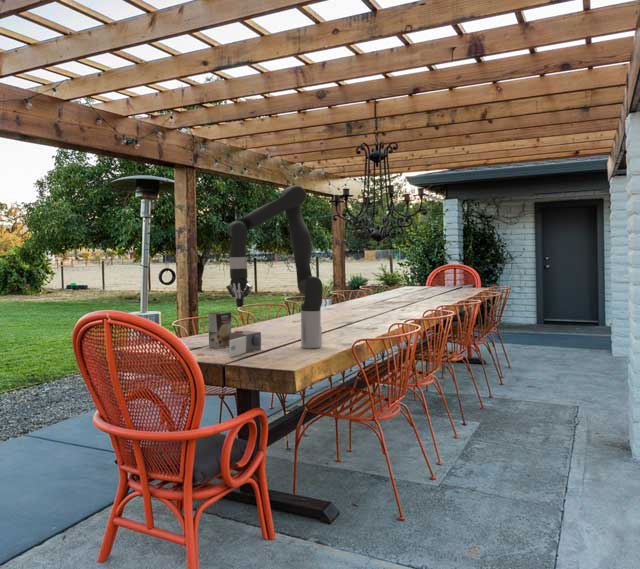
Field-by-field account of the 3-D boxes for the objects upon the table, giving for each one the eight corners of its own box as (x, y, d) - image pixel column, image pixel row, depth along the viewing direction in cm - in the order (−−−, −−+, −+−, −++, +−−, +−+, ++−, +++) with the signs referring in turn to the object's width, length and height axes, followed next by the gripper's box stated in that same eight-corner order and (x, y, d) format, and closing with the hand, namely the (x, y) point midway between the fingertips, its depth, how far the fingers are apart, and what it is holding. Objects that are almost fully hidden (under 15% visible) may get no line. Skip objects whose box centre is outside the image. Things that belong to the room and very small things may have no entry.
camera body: (244, 347, 263) (244, 328, 263) (263, 349, 257) (263, 330, 256) (230, 350, 255) (230, 331, 255) (249, 352, 249) (249, 333, 248)
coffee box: (218, 348, 261) (217, 314, 260) (208, 347, 265) (207, 313, 264) (232, 345, 269) (231, 312, 268) (222, 344, 272) (221, 311, 271)
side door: (229, 356, 237) (229, 340, 237) (245, 351, 250) (245, 335, 249) (232, 357, 237) (232, 340, 236) (248, 352, 249) (248, 335, 249)
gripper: (221, 268, 244) (222, 307, 245) (245, 267, 238) (247, 308, 239) (231, 267, 251) (233, 305, 252) (255, 267, 245) (257, 306, 246)
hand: (240, 307), depth 246 cm, fingers closed
